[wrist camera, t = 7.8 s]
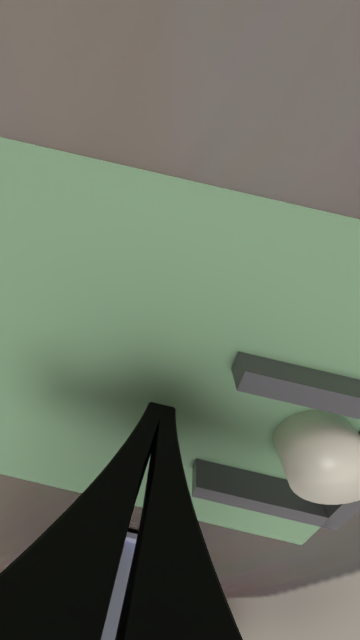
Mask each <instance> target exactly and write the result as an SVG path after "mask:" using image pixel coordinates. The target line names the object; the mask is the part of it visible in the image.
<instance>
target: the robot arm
mask: <svg viewBox="0 0 360 640" xmlns="http://www.w3.org/2000/svg"><path fill="white" fill-rule="evenodd" d="M150 454H151V455H150ZM149 458H150V462H149V469H148V475H147V482H146V489H145V495H144V502H143V509H142V515H141V520H140V526H139V530H138V534H135V533H131V532H127V531H128V527H129V523H130V519H131V516H132V512H133V509H134V506H135V502H136V499H137V496H138V493H139V490H140V486H141V483H142V480H143V477H144V474H145V470H146V467H147V464H148V461H149ZM0 640H243V639H242V637H241V634H240V632H239V630H238V627H237V625H236V623H235V620H234V618H233V615H232V613H231V610H230V608H229V605H228V603H227V600H226V598H225V595H224V593H223V590H222V587H221V585H220V582H219V580H218V577H217V574H216V572H215V569H214V566H213V564H212V561H211V558H210V555H209V552H208V549H207V546H206V543H205V541H204V538H203V535H202V532H201V529H200V526H199V523H198V520H197V516H196V513H195V510H194V507H193V503H192V500H191V496H190V492H189V489H188V485H187V481H186V477H185V472H184V468H183V464H182V459H181V453H180V448H179V442H178V436H177V427H176V409H175V408H174V407H171V406H166V405H162V404H158V403H154V402H150V403H148V406H147V408H146V410H145V412H144V414H143V415H142V417H141V419H140V420H139V422H138V424H137V425H136V427H135V428H134V430H133V431H132V433H131V434H130V436H129V437H128V439H127V440H126V441H125V443H124V444H123V445H122V447H121V448H120V449H119V451H118V452H117V453H116V454H115V456H114V457H113V458H112V460H111V461H110V462H109V463H108V465H107V466H106V467H105V468H104V469H103V471H102V472H101V473H100V474H99V475H98V476H97V477H96V479H95V480H94V481H93V482H92V483H91V484H90V485H89V486H88V488H87V489H86V490H85V491H84V492H83V493H82V494H81V495H80V496H79V497H78V498H77V500H76V501H75V502H74V503H73V504H72V505H71V506H70V507H69V508H68V509H67V510H66V511H65V512H64V513H63V514H62V515H61V516H60V517H59V518H58V519H57V520H56V521H55V522H54V523H53V524H52V525H51V526H50V527H49V528H48V529H47V530H46V531H45V532H44V533H43V534H42V535H41V536H40V537H39V538H38V539H37V540H36V541H35V542H34V543H33V544H32V545H31V546H30V547H28V548H27V549H26V550H25V551H24V552H23V553H22V554H21V555H20V556H19V557H18V558H17V559H15V560H14V561H13V562H12V563H11V564H10V565H9V566H8V567H7V568H6V569H5V570H3V571H2V572H1V573H0Z"/></svg>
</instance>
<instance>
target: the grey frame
mask: <svg viewBox="0 0 360 640" xmlns="http://www.w3.org/2000/svg"><path fill="white" fill-rule="evenodd" d="M231 370H232V374H233V378H234V382H235V386H236V390H237V391H240V392H244V393H249V394H253V395H257V396H261V397H266V398H270V399H274V400H279V401H283V402H287V403H291V404H296V405H300V406H304V407H309V408H313V409H317V410H321V411H326V412H330V413H334V414H339V415H343V416H347V417H351V418H356V419H360V380H359V379H355V378H351V377H346V376H342V375H338V374H333V373H329V372H325V371H321V370H316V369H312V368H308V367H303V366H299V365H295V364H291V363H286V362H282V361H278V360H273V359H269V358H265V357H260V356H256V355H252V354H248V353H243V352H239V351H238V352H237V355H236V357H235V360H234V362H233V365H232V367H231ZM359 434H360V432H359ZM192 497H196V498H200V499H204V500H208V501H213V502H217V503H221V504H225V505H229V506H234V507H238V508H242V509H246V510H251V511H255V512H259V513H263V514H268V515H272V516H276V517H280V518H285V519H289V520H293V521H297V522H301V523H306V524H310V525H314V526H318V527H323V528H327V529H331V530H335V531H337V530H338V529H340V528H341V527H342V526H343V525H344V524H345V523H346V522H347V521H348V520H350V519H351V518H352V517H353V516H354V515H355V514H356V513H357V512H358V511H359V510H360V500H359V501H356V502H352V503H347V504H339V505H326V504H318V503H313V502H310V501H307V500H305V499H303V498H301V497H299V496H297V495H296V494H295V493H294V492H293V491H292V489H291V488H290V486H289V483H288V480H286V479H282V478H278V477H273V476H269V475H265V474H261V473H256V472H252V471H248V470H244V469H239V468H235V467H231V466H227V465H222V464H218V463H214V462H210V461H205V460H201V459H197V458H196V460H195V463H194V466H193V470H192Z"/></svg>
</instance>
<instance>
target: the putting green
mask: <svg viewBox="0 0 360 640" xmlns="http://www.w3.org/2000/svg"><path fill="white" fill-rule="evenodd" d="M238 351H239V352H243V353H248V354H252V355H256V356H260V357H265V358H269V359H273V360H278V361H282V362H286V363H291V364H295V365H299V366H303V367H308V368H312V369H316V370H321V371H325V372H329V373H333V374H338V375H342V376H346V377H351V378H355V379H359V380H360V219H355V218H351V217H346V216H342V215H338V214H333V213H329V212H325V211H320V210H316V209H312V208H307V207H303V206H298V205H294V204H290V203H285V202H281V201H277V200H272V199H268V198H264V197H259V196H255V195H251V194H246V193H242V192H237V191H233V190H229V189H224V188H220V187H216V186H211V185H207V184H203V183H198V182H194V181H189V180H185V179H181V178H176V177H172V176H168V175H163V174H159V173H155V172H150V171H146V170H142V169H137V168H133V167H128V166H124V165H120V164H115V163H111V162H107V161H102V160H98V159H94V158H89V157H85V156H81V155H76V154H72V153H67V152H63V151H59V150H54V149H50V148H46V147H41V146H37V145H33V144H28V143H24V142H19V141H15V140H11V139H6V138H2V137H0V474H3V475H7V476H11V477H15V478H19V479H24V480H28V481H32V482H36V483H41V484H45V485H49V486H53V487H58V488H62V489H66V490H70V491H74V492H79V493H83V492H84V491H85V490H86V489H87V488H88V486H89V485H90V484H91V483H92V482H93V481H94V480H95V479H96V477H97V476H98V475H99V474H100V473H101V472H102V471H103V469H104V468H105V467H106V466H107V465H108V463H109V462H110V461H111V460H112V458H113V457H114V456H115V454H116V453H117V452H118V451H119V449H120V448H121V447H122V445H123V444H124V443H125V441H126V440H127V439H128V437H129V436H130V434H131V433H132V431H133V430H134V428H135V427H136V425H137V424H138V422H139V420H140V419H141V417H142V415H143V414H144V412H145V410H146V408H147V406H148V403H150V402H154V403H158V404H162V405H166V406H171V407H174V408H175V409H176V427H177V436H178V442H179V448H180V453H181V459H182V464H183V468H184V472H185V477H186V481H187V485H188V489H189V492H190V496H191V500H192V503H193V507H194V510H195V513H196V516H197V520H198V521H201V522H206V523H210V524H214V525H218V526H222V527H227V528H231V529H235V530H239V531H244V532H248V533H252V534H256V535H261V536H265V537H269V538H273V539H277V540H282V541H286V542H290V543H294V544H299V545H303V544H304V543H305V542H306V541H307V540H308V539H309V538H310V537H311V536H312V535H313V534H314V533H315V532H316V531H317V530H318V529H319V528H320V527H318V526H314V525H310V524H306V523H301V522H297V521H293V520H289V519H285V518H280V517H276V516H272V515H268V514H263V513H259V512H255V511H251V510H246V509H242V508H238V507H234V506H229V505H225V504H221V503H217V502H213V501H208V500H204V499H200V498H196V497H192V470H193V466H194V463H195V460H196V458H197V459H201V460H205V461H210V462H214V463H218V464H222V465H227V466H231V467H235V468H239V469H244V470H248V471H252V472H256V473H261V474H265V475H269V476H273V477H278V478H282V479H286V480H287V478H286V475H285V472H284V470H283V467H282V464H281V462H280V459H279V456H278V454H277V451H276V448H275V446H274V443H273V435H274V432H275V429H276V428H277V426H278V425H279V424H280V423H281V422H282V421H284V420H285V419H286V418H288V417H290V416H292V415H294V414H297V413H300V412H303V411H308V410H317V409H313V408H309V407H304V406H300V405H296V404H291V403H287V402H283V401H279V400H274V399H270V398H266V397H261V396H257V395H253V394H249V393H244V392H240V391H237V390H236V386H235V382H234V378H233V374H232V370H231V367H232V365H233V362H234V360H235V357H236V355H237V352H238ZM341 416H343V415H341ZM343 417H344V418H346V419H347V420H348V421H349V423H350V424H351V425H352V426H353V427H354V428H355V430H356V431H357V432H358V433H359V432H360V419H356V418H351V417H347V416H343ZM150 455H151V454H150ZM149 462H150V458H149V461H148V464H147V467H146V470H145V474H144V477H143V480H142V483H141V486H140V490H139V493H138V496H137V499H136V502H135V506H138V507H142V508H143V502H144V495H145V489H146V482H147V475H148V469H149Z"/></svg>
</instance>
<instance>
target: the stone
mask: <svg viewBox="0 0 360 640" xmlns="http://www.w3.org/2000/svg"><path fill="white" fill-rule="evenodd" d="M273 443H274V446H275V448H276V451H277V454H278V456H279V459H280V462H281V464H282V467H283V470H284V472H285V475H286V478H287V480H288V483H289V486H290V488H291V489H292V491H293V492H294V493H295V494H296V495H297V496H299V497H301V498H303V499H305V500H307V501H310V502H313V503H318V504H326V505H339V504H347V503H352V502H356V501H359V500H360V434H359V433H358V432H357V431H356V430H355V428H354V427H353V426H352V425H351V424H350V423H349V421H348V420H347V419H346V418H344V417H343V416H341V415H339V414H334V413H330V412H326V411H321V410H308V411H303V412H300V413H297V414H294V415H292V416H290V417H288V418H286V419H285V420H284V421H282V422H281V423H280V424H279V425H278V426H277V428H276V429H275V432H274V435H273Z"/></svg>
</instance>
